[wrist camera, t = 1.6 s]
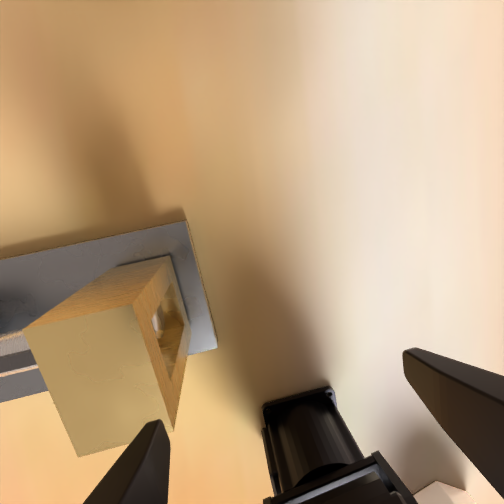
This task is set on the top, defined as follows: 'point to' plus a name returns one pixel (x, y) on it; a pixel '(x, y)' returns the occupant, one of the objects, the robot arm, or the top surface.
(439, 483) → the jar
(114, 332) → the tan notched block
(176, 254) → the shaft stand
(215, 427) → the top surface
